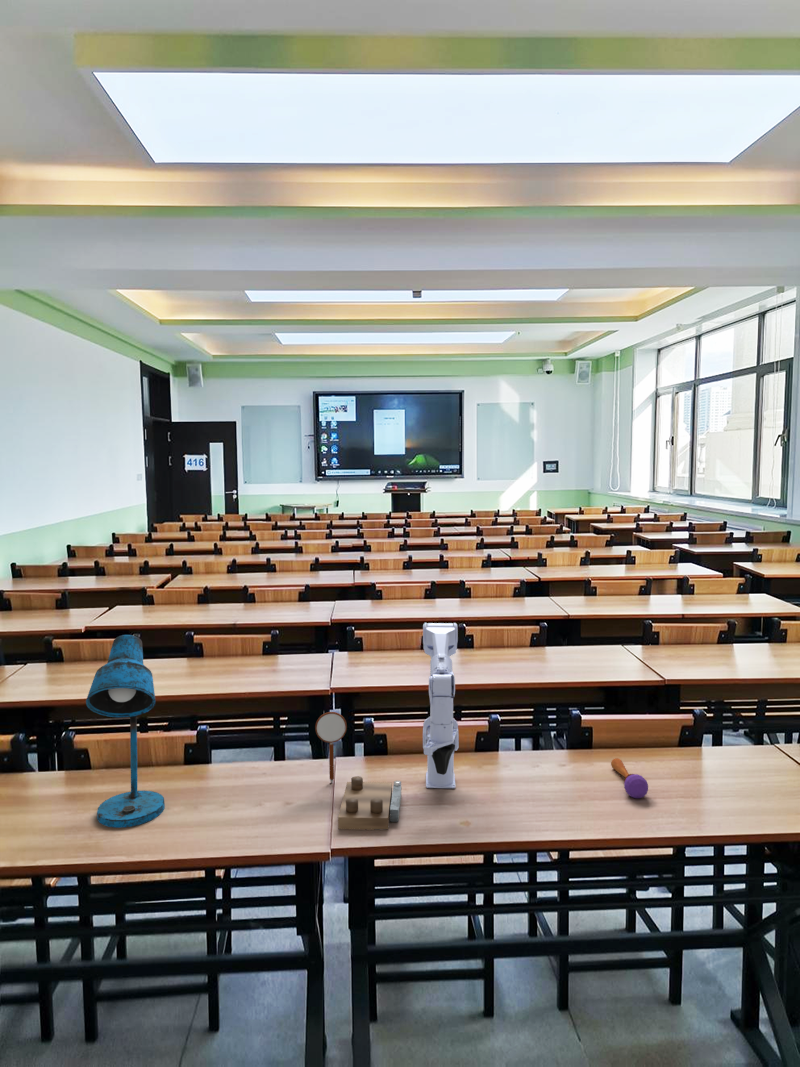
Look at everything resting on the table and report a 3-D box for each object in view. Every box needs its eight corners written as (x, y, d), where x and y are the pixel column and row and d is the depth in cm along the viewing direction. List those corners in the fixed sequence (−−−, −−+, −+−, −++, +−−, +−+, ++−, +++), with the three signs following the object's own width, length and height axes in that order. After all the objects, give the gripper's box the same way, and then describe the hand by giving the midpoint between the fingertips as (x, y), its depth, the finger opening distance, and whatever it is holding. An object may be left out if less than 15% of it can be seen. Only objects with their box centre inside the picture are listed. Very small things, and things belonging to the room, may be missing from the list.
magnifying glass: (347, 780, 194) (346, 710, 192) (347, 782, 192) (346, 712, 190) (316, 781, 193) (315, 711, 191) (316, 784, 191) (314, 713, 189)
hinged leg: (394, 793, 185) (393, 780, 185) (401, 793, 185) (401, 780, 185) (390, 821, 170) (390, 807, 170) (398, 821, 170) (398, 807, 170)
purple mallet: (628, 755, 200) (653, 781, 180) (625, 776, 200) (649, 804, 180) (608, 751, 200) (630, 777, 180) (604, 772, 200) (626, 799, 180)
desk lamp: (85, 841, 162) (76, 652, 158) (105, 798, 183) (97, 630, 179) (158, 834, 165) (151, 648, 161) (168, 792, 187) (162, 627, 182)
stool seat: (347, 792, 186) (347, 772, 186) (392, 793, 186) (392, 773, 185) (338, 829, 167) (337, 807, 167) (388, 830, 167) (387, 808, 166)
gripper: (441, 709, 183) (441, 759, 184) (413, 726, 171) (413, 780, 172) (465, 714, 179) (465, 765, 181) (438, 732, 167) (438, 786, 168)
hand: (441, 773), depth 176 cm, fingers closed
